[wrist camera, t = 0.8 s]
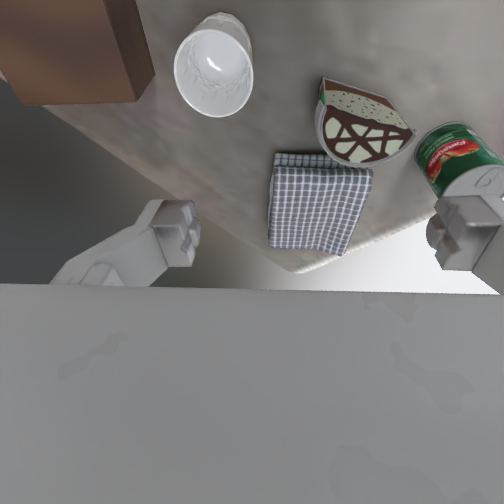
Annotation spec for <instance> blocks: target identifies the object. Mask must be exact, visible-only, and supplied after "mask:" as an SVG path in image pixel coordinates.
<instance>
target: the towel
mask: <svg viewBox="0 0 504 504" xmlns="http://www.w3.org/2000/svg"><path fill="white" fill-rule="evenodd" d="M274 155H275V159H274V163H273V173H272V178H271V183H270V203H269V209H268V226H269V231H268V232H269V233H268V239H269V240H270V242H269V247H272V248H273V247H276V248H295V249H298V248H300V249H315V250H316V249H318V250H320V251H324V252H326V253H330V254H333V255H335V254H336V255H338V256H343V255H344V254H345V252H346V248H347V246H348V243H349V241H350V239H351V236H352V233H353V231H354V229H355V227H356V225H357V223H358V220H359V218H360V214H361V211H362V209H363V206H364V204H365V202H366V199H367V196H368V193H369V192H370V190H371V181H372V177H373V172H372V170H371V169H370V170H368V169H367V167H362V168H361V167H351V166H347V165H344V164H341V163H339V162H337V161H336V160H334V159H333V158H331V157H330V156H329V155H320V154H319V155H315V154H312V155H306V154H305V155H295V154H285V153H284V154H281V153H275V154H274Z"/></svg>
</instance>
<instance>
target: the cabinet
mask: <svg viewBox="0 0 504 504" xmlns="http://www.w3.org/2000/svg"><path fill="white" fill-rule="evenodd" d="M0 70H1V72H2V73H3V75H4V76H5V78H6V80H7V81H8V83H9V84H10V86H11V88H12V89H13V91H14V92H15V94H16V96H17V97H18V99H19V100H20V102H21V103H22V105H23V106H27V105H28V106H29V105H60V104H90V103H121V102H137V101H138V99H139V98H140V96H141V95H142V93H143V92H144V90H145V89H146V87H147V86H148V84H149V83H150V81H151V80H152V78H153V77H154V75H155V72H154V68H153V65H152V61H151V57H150V53H149V50H148V46H147V42H146V39H145V35H144V31H143V27H142V24H141V20H140V16H139V13H138V9H137V5H136V1H135V0H0Z"/></svg>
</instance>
